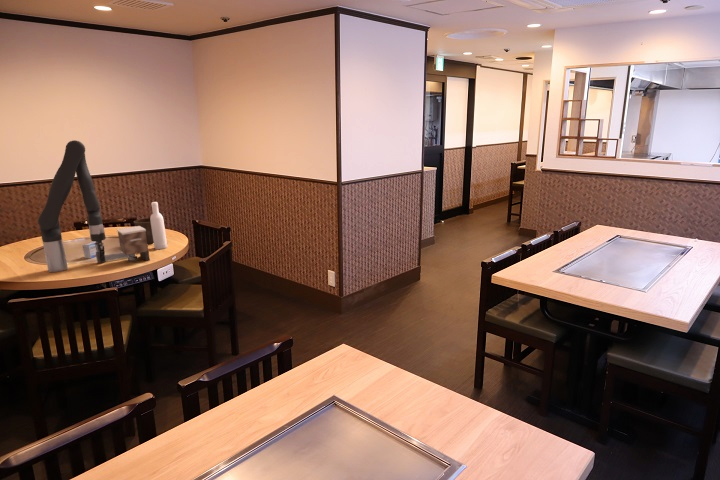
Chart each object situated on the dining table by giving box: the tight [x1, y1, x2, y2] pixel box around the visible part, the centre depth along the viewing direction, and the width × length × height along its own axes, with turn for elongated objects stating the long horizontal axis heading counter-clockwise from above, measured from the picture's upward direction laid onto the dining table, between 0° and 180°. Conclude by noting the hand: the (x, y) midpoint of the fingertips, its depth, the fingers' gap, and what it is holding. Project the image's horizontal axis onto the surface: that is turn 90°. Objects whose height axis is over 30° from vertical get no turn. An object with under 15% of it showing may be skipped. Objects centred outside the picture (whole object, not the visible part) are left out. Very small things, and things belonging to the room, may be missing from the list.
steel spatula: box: [95, 251, 136, 264], centre depth 280 cm, size 20×3×6 cm, turn 129°
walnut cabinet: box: [116, 225, 151, 262], centre depth 275 cm, size 13×14×19 cm
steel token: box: [127, 255, 139, 262], centre depth 279 cm, size 5×5×2 cm
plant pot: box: [133, 217, 154, 245], centre depth 316 cm, size 15×15×16 cm
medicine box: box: [82, 241, 97, 259], centre depth 289 cm, size 8×4×9 cm, turn 168°
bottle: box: [149, 201, 168, 250], centre depth 301 cm, size 8×8×30 cm
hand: (102, 260), depth 276 cm, fingers closed on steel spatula, 3 cm apart
